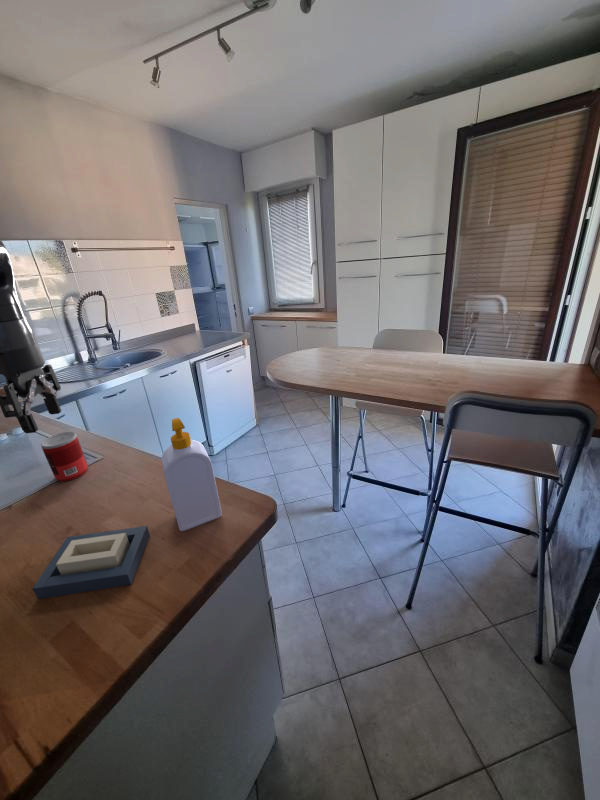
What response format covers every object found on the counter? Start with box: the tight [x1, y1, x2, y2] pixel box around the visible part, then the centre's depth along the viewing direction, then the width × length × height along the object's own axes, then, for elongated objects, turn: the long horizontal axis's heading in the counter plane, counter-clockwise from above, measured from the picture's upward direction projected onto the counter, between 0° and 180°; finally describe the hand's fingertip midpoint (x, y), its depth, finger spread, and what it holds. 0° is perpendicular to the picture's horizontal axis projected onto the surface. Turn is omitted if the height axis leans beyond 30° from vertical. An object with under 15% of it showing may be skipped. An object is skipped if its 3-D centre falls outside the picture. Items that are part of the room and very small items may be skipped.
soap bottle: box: [161, 417, 223, 532], centre depth 69 cm, size 9×7×23 cm
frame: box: [56, 533, 130, 575], centre depth 62 cm, size 10×6×4 cm, turn 97°
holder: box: [32, 525, 151, 600], centre depth 62 cm, size 16×12×3 cm
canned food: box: [40, 431, 89, 482], centre depth 90 cm, size 8×8×11 cm
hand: (44, 422), depth 68 cm, fingers open, 8 cm apart
